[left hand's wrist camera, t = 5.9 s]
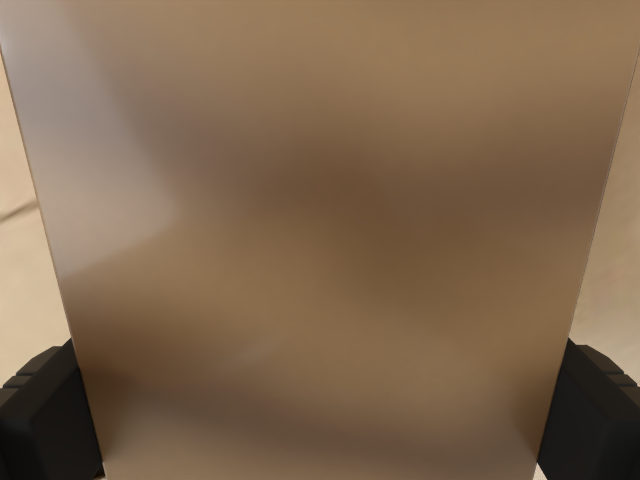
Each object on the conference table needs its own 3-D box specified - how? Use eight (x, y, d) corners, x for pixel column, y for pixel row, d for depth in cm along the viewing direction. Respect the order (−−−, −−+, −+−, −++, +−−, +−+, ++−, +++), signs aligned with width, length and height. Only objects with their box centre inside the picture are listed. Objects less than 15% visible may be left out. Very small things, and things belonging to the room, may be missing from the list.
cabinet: (170, -173, 14) (-248, -918, 4) (468, -172, 14) (886, -919, 4) (218, 312, 20) (117, 529, 10) (421, 312, 20) (522, 529, 10)
